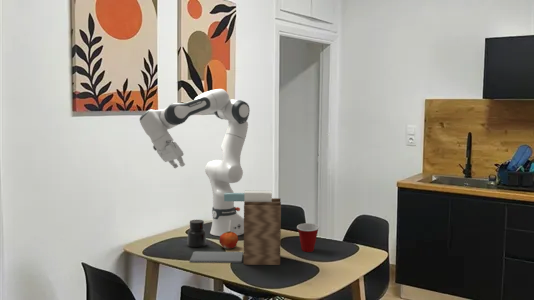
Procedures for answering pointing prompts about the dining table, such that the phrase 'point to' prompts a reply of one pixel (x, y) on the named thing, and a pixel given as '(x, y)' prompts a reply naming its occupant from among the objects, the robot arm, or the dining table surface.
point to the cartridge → (249, 196)
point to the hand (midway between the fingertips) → (179, 166)
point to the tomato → (228, 240)
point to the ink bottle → (196, 234)
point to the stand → (262, 232)
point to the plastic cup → (308, 236)
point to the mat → (217, 257)
